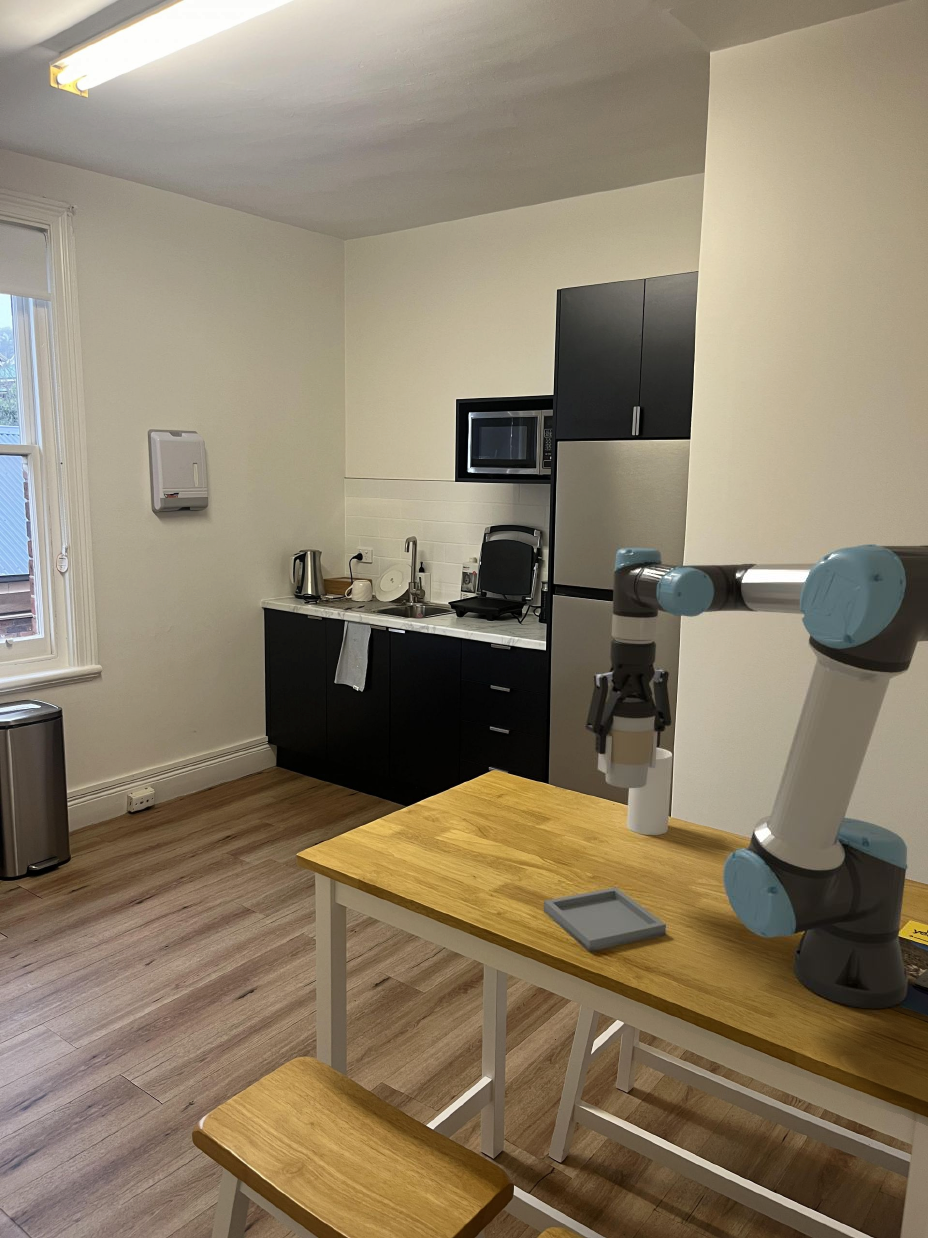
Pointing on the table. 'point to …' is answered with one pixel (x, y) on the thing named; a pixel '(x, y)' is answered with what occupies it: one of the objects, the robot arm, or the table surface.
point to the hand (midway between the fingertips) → (626, 768)
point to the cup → (652, 798)
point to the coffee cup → (631, 742)
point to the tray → (604, 919)
